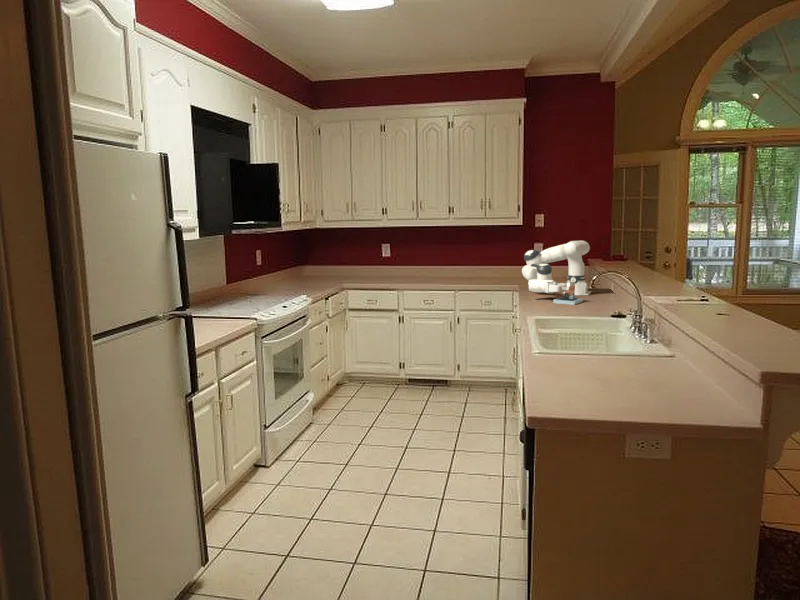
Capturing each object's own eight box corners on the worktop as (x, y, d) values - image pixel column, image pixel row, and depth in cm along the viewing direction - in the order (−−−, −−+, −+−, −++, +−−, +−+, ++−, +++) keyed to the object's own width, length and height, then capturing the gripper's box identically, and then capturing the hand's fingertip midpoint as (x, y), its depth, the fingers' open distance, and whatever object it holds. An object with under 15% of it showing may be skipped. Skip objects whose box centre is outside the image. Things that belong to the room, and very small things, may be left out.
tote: (562, 301, 386) (562, 296, 386) (583, 302, 378) (583, 298, 377) (553, 304, 373) (553, 299, 373) (574, 306, 365) (574, 301, 365)
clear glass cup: (566, 297, 382) (567, 281, 380) (575, 298, 378) (576, 281, 376) (563, 298, 377) (563, 282, 375) (572, 299, 373) (573, 282, 372)
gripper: (556, 289, 393) (576, 291, 385) (544, 293, 377) (565, 294, 368) (557, 280, 392) (577, 281, 384) (545, 283, 376) (565, 284, 367)
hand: (571, 288), depth 376 cm, fingers closed on clear glass cup, 6 cm apart
